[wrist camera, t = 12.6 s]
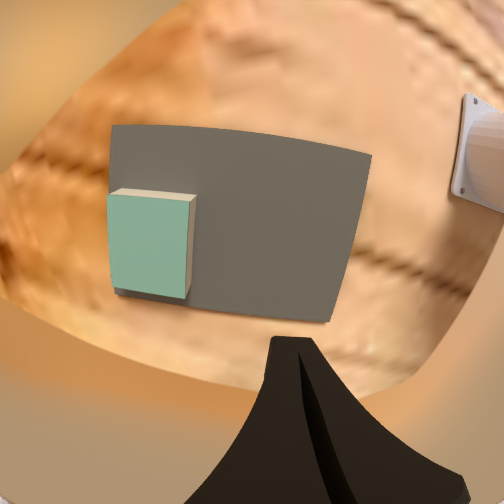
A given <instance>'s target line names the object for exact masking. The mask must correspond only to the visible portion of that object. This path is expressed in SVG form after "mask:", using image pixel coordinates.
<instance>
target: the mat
mask: <svg viewBox="0 0 504 504" xmlns="http://www.w3.org/2000/svg"><path fill="white" fill-rule="evenodd" d="M371 158H372V155H370V154H366V153H362V152H358V151H353V150H349V149H345V148H340V147H336V146H331V145H326V144H321V143H316V142H311V141H306V140H300V139H294V138H288V137H282V136H275V135H269V134H261V133H254V132H246V131H237V130H227V129H217V128H205V127H190V126H169V125H112V132H111V146H110V166H109V194H110V193H112V192H115V191H117V190H119V189H121V188H124V189H138V190H150V191H162V192H173V193H183V194H193V195H197V197H196V210H195V223H194V239H193V256H192V278H191V285H190V288H189V290H188V293H187V295H186V298H185V299H182V298H176V297H169V296H163V295H157V294H151V293H145V292H139V291H134V290H128V289H123V288H117V287H114V291H115V294H117V295H123V296H128V297H133V298H139V299H144V300H150V301H156V302H162V303H168V304H174V305H180V306H187V307H194V308H200V309H208V310H215V311H222V312H230V313H238V314H246V315H255V316H264V317H274V318H284V319H295V320H306V321H319V322H330V319H331V316H332V313H333V310H334V307H335V303H336V300H337V297H338V294H339V290H340V287H341V284H342V280H343V277H344V274H345V270H346V267H347V263H348V259H349V256H350V252H351V248H352V244H353V241H354V237H355V233H356V229H357V225H358V220H359V216H360V212H361V207H362V203H363V198H364V194H365V189H366V184H367V179H368V174H369V169H370V164H371Z"/></svg>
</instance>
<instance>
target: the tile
mask: <svg viewBox="0 0 504 504" xmlns="http://www.w3.org/2000/svg"><path fill="white" fill-rule="evenodd" d="M196 197H197V195H193V194H183V193H173V192H162V191H150V190H138V189H124V188H121V189H119V190H117V191H115V192H112V193H110V194H108V195H107V224H108V244H109V259H110V270H111V280H112V287H117V288H123V289H128V290H134V291H139V292H145V293H151V294H157V295H163V296H169V297H176V298H182V299H185V298H186V295H187V293H188V290H189V288H190V285H191V278H192V256H193V239H194V223H195V210H196Z"/></svg>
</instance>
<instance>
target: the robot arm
mask: <svg viewBox="0 0 504 504" xmlns="http://www.w3.org/2000/svg"><path fill="white" fill-rule="evenodd" d="M473 99H474V101H475V104H474V102H473ZM461 188H462V192H461V193H460V190H461ZM451 192H452V194H453V195H455V196H458V197H461V198H464V199H467V200H469V201H472V202H475V203H478V204H480V205H483V206H486V207H488V208H491V209H493V210H496V211H498V212H501V213H503V214H504V113H502V112H500V111H499V110H497V109H496V108H494V107H493V106H491V105H490V104H488V103H487V102H485V101H483V100H482V99H480V98H479V97H477V96H475V95H474V94H472V93H465V94H464V100H463V113H462V123H461V131H460V139H459V146H458V152H457V158H456V164H455V169H454V174H453V179H452V184H451ZM470 500H471V498H470V495H469V492H468V489H467V487H466V484H465V482H464V479H463V477H462V476H461V475H459V474H457V473H455V472H453V471H450V470H448V469H446V468H444V467H442V466H440V465H438V464H436V463H434V462H432V461H431V460H429V459H427V458H426V457H424V456H422V455H421V454H419V453H417V452H416V451H414V450H413V449H412V448H410V447H409V446H407V445H406V444H405V443H403V442H402V441H401V440H400V439H398V438H397V437H396V436H394V435H393V434H392V433H391V432H389V431H388V430H387V429H386V428H385V427H384V426H382V425H381V424H380V423H379V422H378V421H377V420H376V419H375V418H374V417H373V416H372V415H371V414H370V413H369V412H368V411H367V410H366V409H365V408H364V407H363V406H362V405H361V404H360V403H359V401H358V400H357V399H356V398H355V397H354V396H353V394H352V393H351V392H350V391H349V390H348V388H347V387H346V386H345V385H344V383H343V382H342V381H341V379H340V378H339V377H338V375H337V374H336V373H335V371H334V370H333V369H332V367H331V366H330V364H329V363H328V362H327V360H326V359H325V357H324V356H323V354H322V353H321V351H320V350H319V348H318V347H317V345H316V344H315V342H314V341H313V340H312V338H307V337H286V336H274V337H272V338H271V341H270V346H269V352H268V357H267V363H266V368H265V373H264V381H263V384H262V387H261V389H260V391H259V394H258V397H257V399H256V401H255V403H254V406H253V408H252V410H251V412H250V414H249V416H248V418H247V420H246V421H245V423H244V425H243V427H242V429H241V430H240V432H239V434H238V435H237V437H236V439H235V440H234V442H233V443H232V445H231V447H230V448H229V450H228V451H227V453H226V454H225V455H224V457H223V458H222V459H221V461H220V462H219V463H218V465H217V466H216V467H215V469H214V470H213V471H212V473H211V474H210V475H209V476H208V478H207V479H206V480H205V481H204V482H203V484H202V485H201V486H200V487H199V488H198V489H197V490H196V491H195V492H194V493H193V494H192V495H191V497H190V498H189V499H188V500H187V501H186V502H185V503H184V504H469V502H470ZM0 504H15V503H13V502H11V501H10V500H8V499H6V498H5V497H4V496H2V495H1V494H0ZM497 504H504V499H502V500H501V501H500V502H498V503H497Z"/></svg>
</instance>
